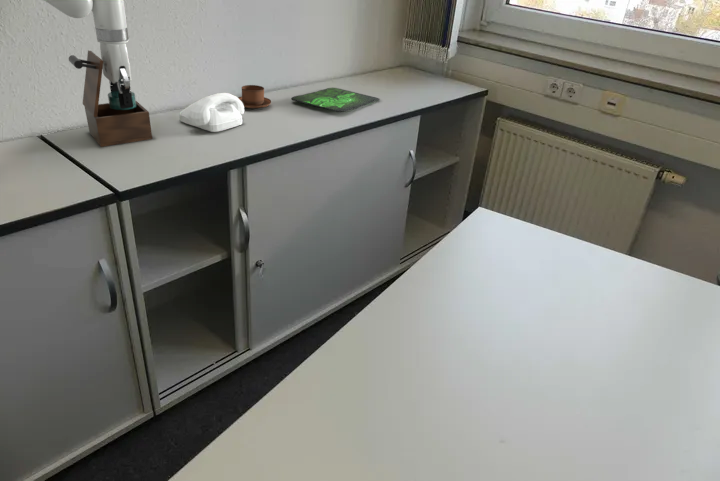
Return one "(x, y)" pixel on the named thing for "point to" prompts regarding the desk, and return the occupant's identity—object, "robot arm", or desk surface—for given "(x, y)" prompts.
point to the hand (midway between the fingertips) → (122, 103)
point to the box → (119, 125)
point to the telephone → (214, 112)
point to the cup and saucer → (254, 97)
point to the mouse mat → (335, 99)
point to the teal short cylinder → (115, 103)
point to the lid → (90, 80)
